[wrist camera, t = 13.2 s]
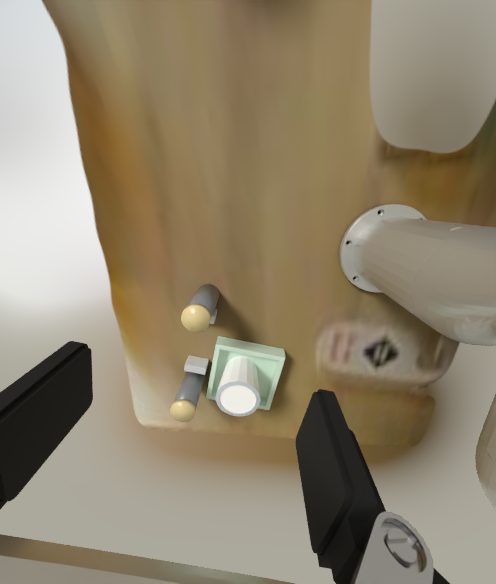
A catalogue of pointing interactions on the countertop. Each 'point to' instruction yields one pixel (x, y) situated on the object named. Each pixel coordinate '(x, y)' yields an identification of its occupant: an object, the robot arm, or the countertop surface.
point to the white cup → (239, 388)
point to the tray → (261, 355)
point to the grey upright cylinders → (196, 321)
